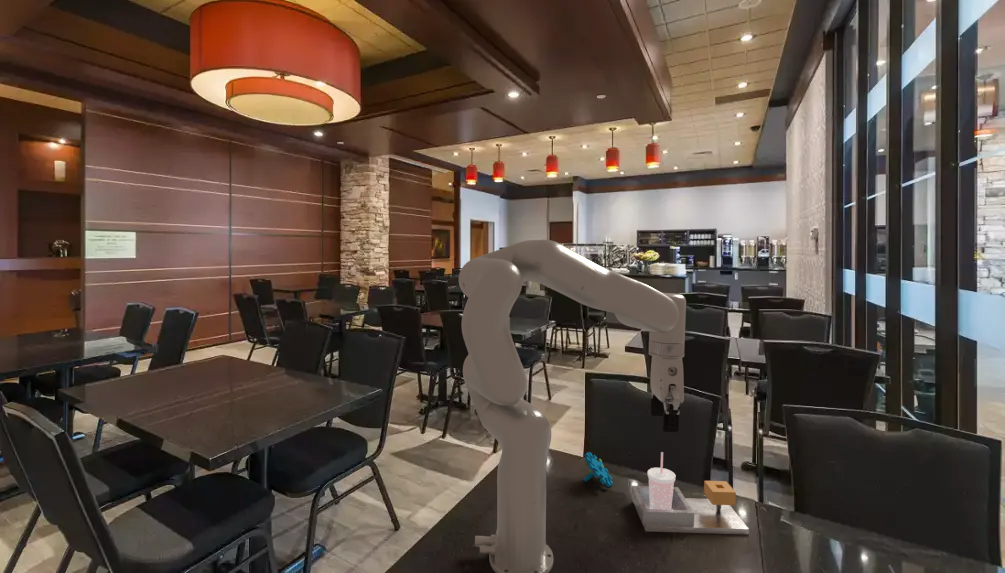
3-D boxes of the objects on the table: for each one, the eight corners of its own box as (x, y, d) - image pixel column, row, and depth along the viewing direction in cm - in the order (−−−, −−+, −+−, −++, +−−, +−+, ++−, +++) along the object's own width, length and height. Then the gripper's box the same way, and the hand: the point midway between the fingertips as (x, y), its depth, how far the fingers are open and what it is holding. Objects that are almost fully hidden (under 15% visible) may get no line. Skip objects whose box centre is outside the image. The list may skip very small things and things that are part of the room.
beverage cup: (642, 504, 110) (643, 447, 109) (666, 503, 110) (668, 446, 109) (653, 519, 104) (655, 459, 102) (679, 518, 104) (681, 457, 103)
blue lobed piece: (613, 489, 116) (585, 456, 119) (595, 503, 117) (568, 470, 120) (616, 475, 126) (591, 445, 129) (600, 488, 128) (575, 458, 130)
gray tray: (643, 531, 101) (643, 512, 101) (630, 501, 113) (631, 484, 113) (748, 534, 100) (749, 515, 100) (725, 504, 112) (725, 486, 112)
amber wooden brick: (712, 504, 104) (712, 491, 104) (703, 493, 109) (704, 480, 109) (735, 505, 104) (735, 492, 103) (725, 493, 109) (726, 481, 108)
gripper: (697, 357, 95) (694, 439, 97) (671, 341, 112) (668, 410, 114) (660, 357, 96) (657, 438, 97) (639, 340, 113) (637, 409, 114)
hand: (663, 423), depth 105 cm, fingers open, 9 cm apart
